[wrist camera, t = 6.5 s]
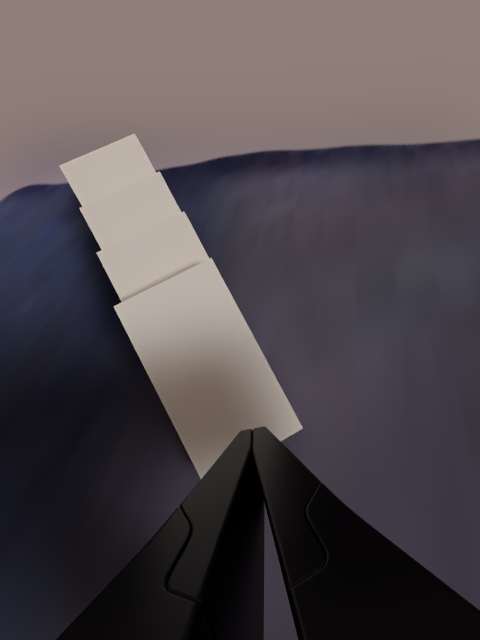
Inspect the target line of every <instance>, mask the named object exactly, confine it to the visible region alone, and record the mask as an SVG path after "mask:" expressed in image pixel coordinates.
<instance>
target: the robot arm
mask: <svg viewBox="0 0 480 640" xmlns="http://www.w3.org/2000/svg"><path fill="white" fill-rule="evenodd" d="M264 502H265V506H266V510H267V514H268V518H269V522H270V526H271V530H272V534H273V538H274V542H275V546H276V550H277V554H278V558H279V562H280V567H281V571H282V575H283V579H284V583H285V587H286V591H287V595H288V599H289V603H290V607H291V611H292V615H293V619H294V623H295V627H296V631H297V636H298V640H480V610H478V609H477V608H476V607H475V606H473V605H472V604H471V603H469V602H468V601H467V600H466V599H464V598H463V597H462V596H460V595H459V594H458V593H457V592H455V591H454V590H453V589H451V588H450V587H449V586H448V585H446V584H445V583H444V582H442V581H441V580H440V579H439V578H437V577H436V576H435V575H433V574H432V573H431V572H430V571H428V570H427V569H426V568H424V567H423V566H422V565H421V564H419V563H418V562H417V561H415V560H414V559H413V558H412V557H410V556H409V555H408V554H407V553H405V552H404V551H403V550H401V549H400V548H399V547H398V546H396V545H395V544H394V543H392V542H391V541H390V540H389V539H387V538H386V537H385V536H383V535H382V534H381V533H380V532H378V531H377V530H376V529H374V528H373V527H372V526H371V525H369V524H368V523H367V522H366V521H364V520H363V519H362V518H361V517H359V516H358V515H357V514H356V513H354V512H353V511H352V510H351V509H350V508H348V507H347V506H346V505H345V504H344V503H343V502H342V501H341V500H340V499H339V498H337V497H336V496H335V495H334V494H333V493H332V492H331V491H330V490H329V489H328V488H327V487H326V486H325V485H324V484H323V483H321V481H320V480H319V479H318V478H317V477H316V476H315V475H314V474H313V473H312V472H311V471H310V470H309V469H308V468H307V467H306V466H305V465H304V464H303V463H302V462H301V461H300V460H299V459H298V458H297V457H296V456H295V455H294V454H293V453H292V452H291V451H290V450H289V449H288V448H287V447H286V446H285V445H284V444H283V443H282V442H281V441H280V440H279V439H278V438H277V437H276V436H275V435H274V434H273V433H272V432H271V431H270V430H269V429H268V428H267V427H265V426H263V427H258V428H254V429H253V430H252V429H247V430H241V431H240V432H239V433H238V434H237V435H236V437H235V438H234V439H233V440H232V442H231V443H230V444H229V445H228V447H227V448H226V449H225V450H224V452H223V453H222V454H221V455H220V457H219V458H218V459H217V460H216V461H215V463H214V464H213V465H212V466H211V468H210V469H209V470H208V471H207V473H206V474H205V475H204V476H203V478H202V479H201V480H200V481H199V482H198V484H197V485H196V486H195V487H194V489H193V490H192V491H191V492H190V494H189V495H188V496H187V497H186V499H185V500H184V501H183V502H182V503H181V505H180V507H178V508H177V509H176V510H175V511H174V513H173V514H172V515H171V516H170V518H169V519H168V520H167V521H166V522H165V523H164V525H163V526H162V527H161V528H160V529H159V530H158V532H157V533H156V534H155V535H154V536H153V538H152V539H151V540H150V541H149V542H148V543H147V544H146V545H145V546H144V547H143V548H142V550H141V551H140V552H139V553H138V554H137V555H136V556H135V557H134V558H133V559H132V560H131V561H130V562H129V564H128V565H127V566H126V567H125V568H124V569H123V570H122V571H121V572H120V573H119V574H118V575H117V576H116V577H115V578H114V579H113V580H112V581H111V582H110V583H109V585H108V586H107V587H106V588H105V589H104V590H103V591H102V592H101V593H100V594H99V595H98V596H97V597H96V598H95V599H94V600H93V601H92V602H91V603H90V604H89V606H88V607H87V608H86V609H85V610H84V611H83V612H82V613H81V614H80V615H79V616H78V617H77V618H76V619H75V620H74V621H73V622H72V623H71V624H70V625H69V627H68V628H67V629H66V630H65V631H64V632H63V633H62V634H61V635H60V636H59V637H58V638H57V639H56V640H264Z"/></svg>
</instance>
